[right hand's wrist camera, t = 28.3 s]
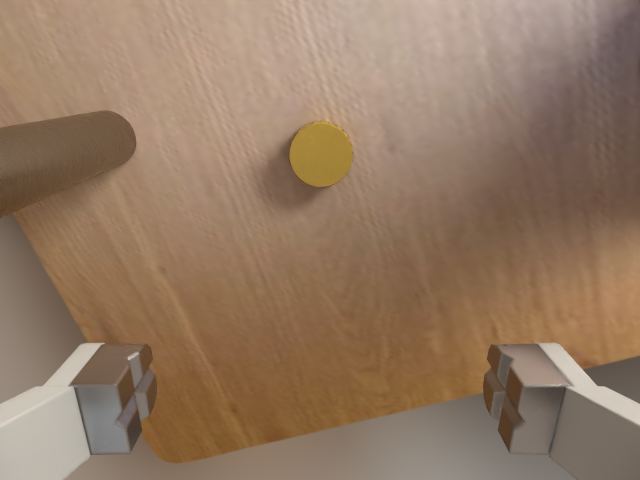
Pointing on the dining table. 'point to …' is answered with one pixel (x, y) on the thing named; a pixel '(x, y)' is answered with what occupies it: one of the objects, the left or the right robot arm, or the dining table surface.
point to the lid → (321, 154)
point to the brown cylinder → (59, 155)
